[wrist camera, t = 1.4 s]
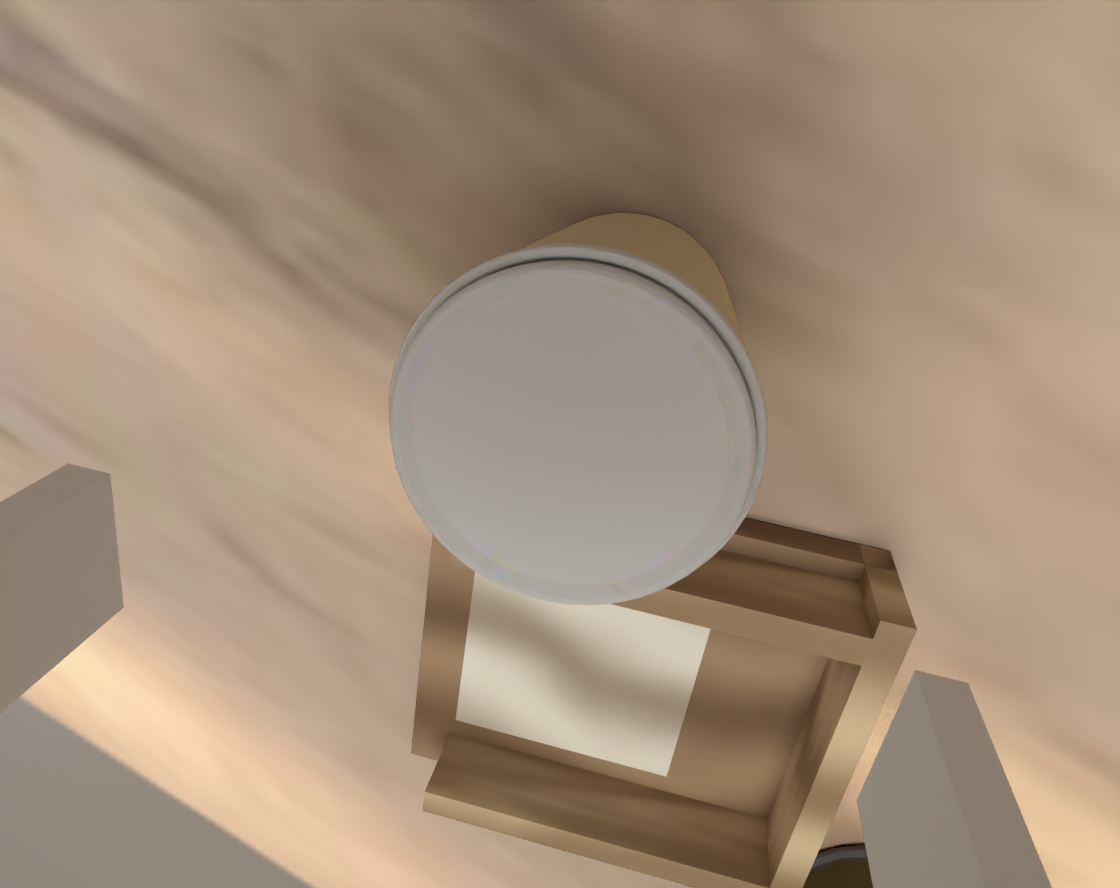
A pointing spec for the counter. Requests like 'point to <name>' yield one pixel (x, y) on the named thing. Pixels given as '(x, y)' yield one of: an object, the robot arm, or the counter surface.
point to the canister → (840, 869)
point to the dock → (665, 707)
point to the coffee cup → (582, 413)
